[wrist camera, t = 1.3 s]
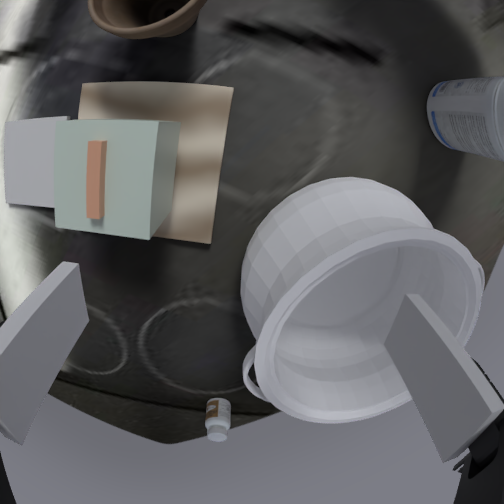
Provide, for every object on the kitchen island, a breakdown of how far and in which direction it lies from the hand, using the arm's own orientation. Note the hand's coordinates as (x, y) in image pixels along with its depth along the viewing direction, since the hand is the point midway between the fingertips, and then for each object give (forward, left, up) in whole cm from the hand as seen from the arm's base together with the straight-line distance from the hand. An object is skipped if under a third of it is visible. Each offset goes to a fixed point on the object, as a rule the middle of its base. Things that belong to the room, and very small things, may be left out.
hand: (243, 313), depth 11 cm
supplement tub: (-16, +25, -25) cm, 39 cm away
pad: (-1, -29, -24) cm, 38 cm away
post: (-2, -12, -24) cm, 27 cm away
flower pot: (-20, -12, -25) cm, 33 cm away
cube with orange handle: (-2, -12, -20) cm, 23 cm away
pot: (+8, +13, -25) cm, 29 cm away
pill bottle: (+39, +1, -25) cm, 46 cm away
